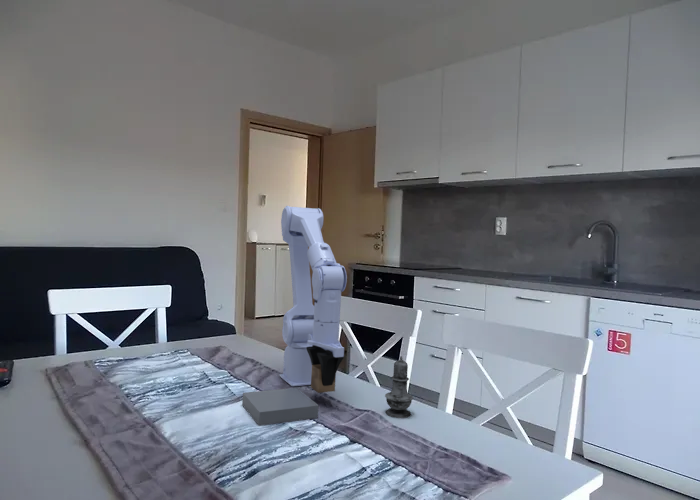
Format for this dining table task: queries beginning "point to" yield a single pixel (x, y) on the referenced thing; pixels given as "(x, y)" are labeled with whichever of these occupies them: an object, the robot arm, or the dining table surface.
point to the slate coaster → (279, 406)
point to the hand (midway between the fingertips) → (323, 381)
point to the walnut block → (320, 381)
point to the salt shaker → (399, 392)
